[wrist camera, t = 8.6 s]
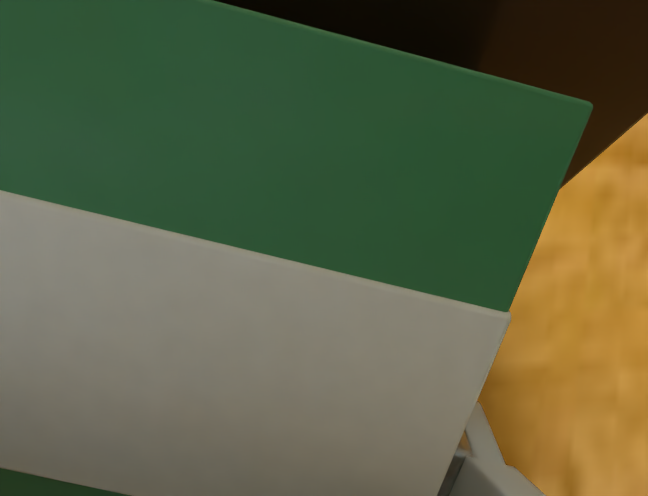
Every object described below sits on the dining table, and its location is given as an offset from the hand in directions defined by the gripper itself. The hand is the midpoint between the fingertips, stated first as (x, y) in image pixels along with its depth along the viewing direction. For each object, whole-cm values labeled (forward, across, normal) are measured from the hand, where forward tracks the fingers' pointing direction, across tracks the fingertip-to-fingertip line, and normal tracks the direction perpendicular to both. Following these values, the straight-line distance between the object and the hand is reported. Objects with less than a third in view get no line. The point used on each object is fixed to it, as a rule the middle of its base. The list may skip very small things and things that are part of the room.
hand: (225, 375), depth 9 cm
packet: (-1, 0, +2) cm, 2 cm away
